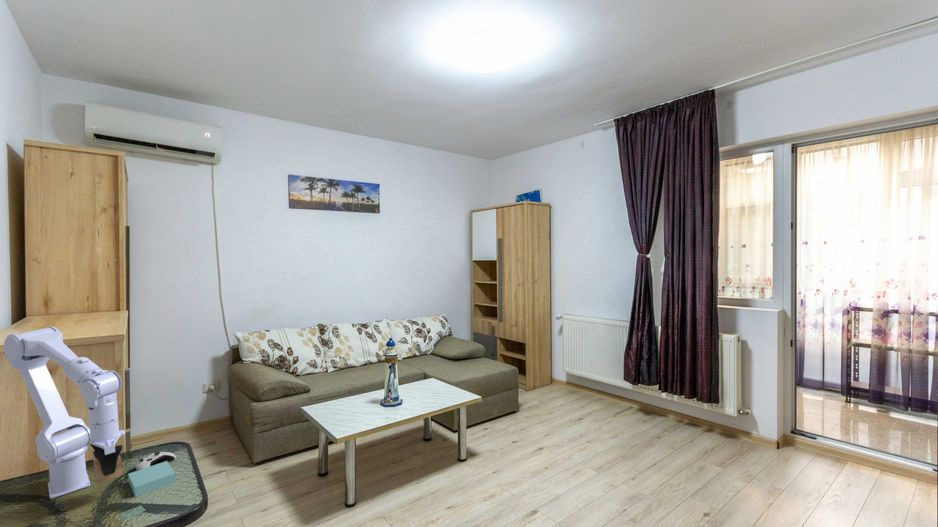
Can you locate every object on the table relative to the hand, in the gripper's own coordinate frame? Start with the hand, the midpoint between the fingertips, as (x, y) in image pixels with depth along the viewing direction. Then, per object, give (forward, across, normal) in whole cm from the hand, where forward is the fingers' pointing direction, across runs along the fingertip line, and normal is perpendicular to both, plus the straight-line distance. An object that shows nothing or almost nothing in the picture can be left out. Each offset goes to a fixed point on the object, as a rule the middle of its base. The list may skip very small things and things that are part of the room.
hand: (107, 469), depth 113 cm
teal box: (+8, -1, -9) cm, 12 cm away
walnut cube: (+2, 0, 0) cm, 2 cm away
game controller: (+8, +9, -11) cm, 16 cm away
